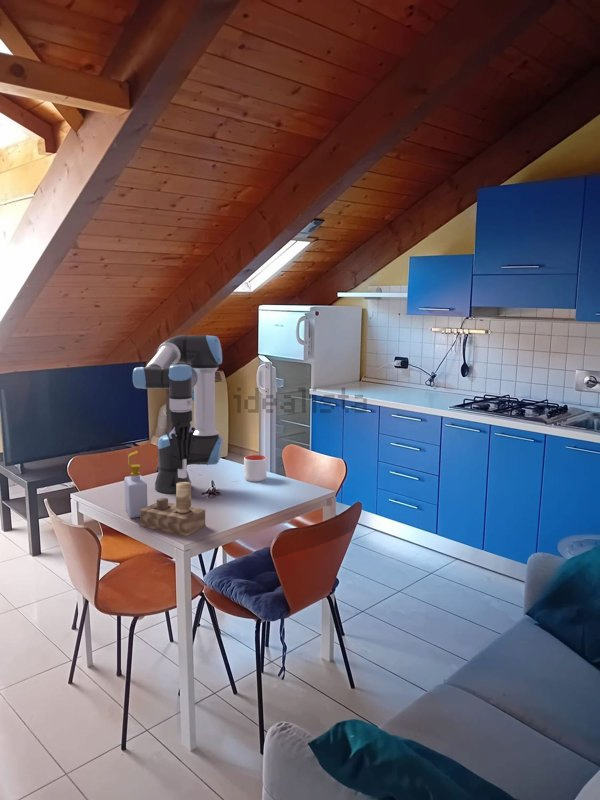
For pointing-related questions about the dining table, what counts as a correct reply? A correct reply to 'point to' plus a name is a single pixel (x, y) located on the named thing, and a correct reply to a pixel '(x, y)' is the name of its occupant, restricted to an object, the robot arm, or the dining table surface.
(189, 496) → the leg
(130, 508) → the soap bottle
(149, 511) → the block
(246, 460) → the cup
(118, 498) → the dining table surface
